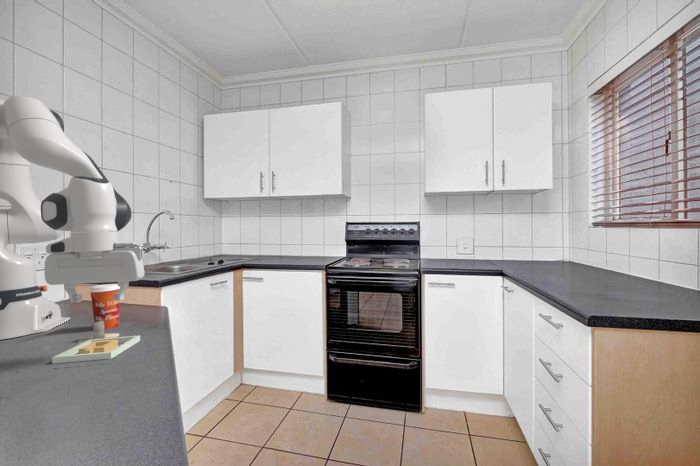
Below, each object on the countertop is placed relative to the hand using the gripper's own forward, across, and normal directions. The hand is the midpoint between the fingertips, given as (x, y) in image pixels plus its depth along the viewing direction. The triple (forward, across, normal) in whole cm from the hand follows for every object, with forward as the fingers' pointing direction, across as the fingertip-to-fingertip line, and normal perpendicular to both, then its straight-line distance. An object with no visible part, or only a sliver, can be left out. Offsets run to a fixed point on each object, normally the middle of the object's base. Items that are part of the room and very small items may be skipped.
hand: (97, 301), depth 77 cm
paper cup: (+14, +11, -22) cm, 29 cm away
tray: (+13, 0, +1) cm, 13 cm away
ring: (+13, 0, +1) cm, 13 cm away
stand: (+13, +6, -10) cm, 18 cm away
